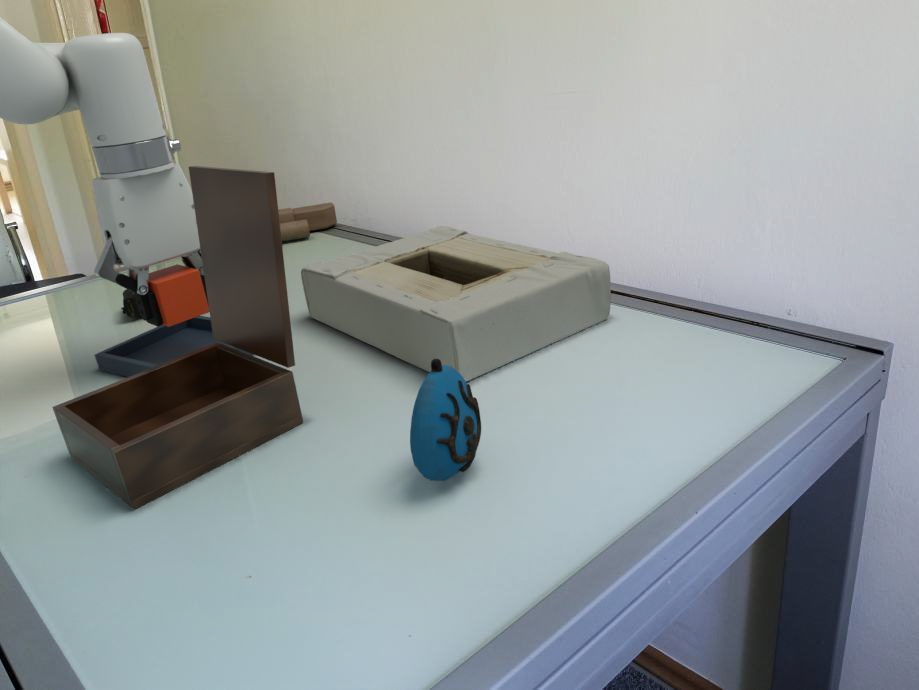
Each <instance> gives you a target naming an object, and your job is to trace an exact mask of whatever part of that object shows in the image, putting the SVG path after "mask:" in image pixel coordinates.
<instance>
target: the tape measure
mask: <svg viewBox="0 0 919 690" xmlns="http://www.w3.org/2000/svg"><path fill="white" fill-rule="evenodd" d="M122 297H123V298H122V306H123V307H120V309H121V310H122V313H123V314H124V315H126V316H128V317H129V318H135V317H138V316H141V315H140V312H139V308H138V305H137V302H136V299H135V295H134V292H132V291H130V290H128V289H126V288H125V290H123V292H122Z"/></svg>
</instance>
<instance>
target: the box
mask: <svg viewBox="0 0 919 690" xmlns="http://www.w3.org/2000/svg"><path fill="white" fill-rule="evenodd" d="M610 270H611V269H610V265H609V264H608V262H606V261H604V260H602V259H599V258H596V257H591V256H585V255H584V256H583V255H576V254H573V253H571V252H569V251H568V252H567V251H560V252H554V251H550V250H545V249H541V248H536V247H532V246H527V245H523V244H519V243H514V242H508V241H504V240H500V239H495V238H490V237H486V236H481V235H476V234H472V233H469V232H468V231H467V230H461V229H457V228H454V227H450V226H443V225H442V226H441V225H440V226H436V227H433V228H431V229H428V230H425V231H423V232H419V233H416V234H412V235H409V236H406V237H403V238H400V239H397V240H393V241H389V242H386V243H383V244H380V245H375V246H373V247H369V248H366V249H362V250H359V251H357V252H353V253H349V254H345V255H342V256H339V257H336V258H333V259H330V260H326V261H321V262H320V261H319V262H316V263H311V264H308V265H305V266H304V267H302V268H301V270H300V277H301V284H302V289H303V295H304V298H305V299H304V300H305V302H306V303H305V304H306V307H307V310H308V314H309V316H310V317H311V318H312V319H314V320H316V321H318V322H320V323H323V324H325V325H327V326H329V327H331V328H333V329H336V330H338V331H340V332H342V333H344V334H347V335H348V336H351V337H353V338H355V339H357V340H359V341H361V342H363V343H366V344H368V345H370V346H373V347H375V348H377V349H379V350H381V351H383V352H385V353H386V354H389V355H391V356H394V357H395V358H397V359H399V360H402V361H404V362H406V363H408V364H411V365H412V366H415V367H417V368H419V369H422V370H423V371H425V372H428V373H429V372H430V371H431V361H432V360H433V359H436V358H437V359H439V360H440V361H441V363H442V365H449V366H452V367H453V368H454V369H456V370H457V371H458V372H459V373H460V374H461V375H462V377H463V378H464V380H465V381H466V382H468V381H471V380H473V379H475V378H478V377H481V376H482V375H484V374H486V373H488V372H491V371H493V370H496V369H497V368H500V367H502V366H505V365H507V364H509V363H511V362H514V361H515V360H518V359H520V358H523V357H525V356H527V355H529V354H531V353H533V352H536V351H538V350H541V349H542V348H546V347H547V346H549V345H552V344H554V343H557V342H558V341H561V340H564V339H565V338H567V337H570V336H572V335H574V334H578V332H581V331H583V330H586V329H588V328H590V327H592V326H595V325H596V324H599V323H602V322H603V321H605V320H607V319H608V318H609V316H610V313H611V304H612V303H611V302H612V301H611V299H612V298H611V295H612V294H611V293H612V292H611V289H612V288H611V271H610Z"/></svg>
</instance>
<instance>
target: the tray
mask: <svg viewBox="0 0 919 690" xmlns="http://www.w3.org/2000/svg"><path fill="white" fill-rule="evenodd" d="M217 342H219V343H221V344H224V345H226V346H229V347H231V348H234V349H236V350H239V351H241V352H244V353H247V354H249V355H252V356H254V354H251V353H249V352H246V351H244V350H241V349H239V348H236V347H233V346H231V345H228V344H226V343H223V342H221V341H218V340H216V339H214V338H213V332H212V325H211V318H210V316H204V315H200V316H197V317H195V318H192V319H189V320H187V321H184V322H181V323H178V324H176V325H173V326H170V327H167V326H165V325H161V326H158V327H157V326H155V327H154V328H151V329H149V330H147V331H144V332H143V333H140V334H138V335H135V336H133V337H131V338H128V339H126V340H124V341H122V342H119V343H118V344H115V345H113V346H111V347H108V348H106V349H104V350H102V351H98V352H97V353H95V354H94V358H95V361H96V364H97V366H98V370H99V371H101V372H105V373H109V374H113V375H116V376H121V377H125V378H128V377H130V376H133V375H135V374H138V373H140V372H143V371H145V370H148V369H150V368H153V367H156V366H158V365H161V364H163V363H166V362H168V361H171V360H173V359H176V358H178V357H181V356H184V355H186V354H189V353H191V352H194V351H196V350H199V349H201V348H204V347H206V346H209V345H212V344H214V343H217Z"/></svg>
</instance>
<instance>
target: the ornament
mask: <svg viewBox="0 0 919 690" xmlns="http://www.w3.org/2000/svg"><path fill="white" fill-rule="evenodd" d="M415 397H416V398H415V399H414V400H415V401H414V404H413V409H412V413H411V414H412V415H411V421H410V429H409V446H410V453H411V457H412V461H413V465H414V467H415V468H416V470H417V471H418V472H419V473H420V475H421V476H422V477H423V478H424V479H426V480H428V481H431V482H445V481H447V480H449V479H450V478H453V477H454V476H455V475H457V474H459V473H460V472H461V473H465V472H466V471H467V470H468V469H469V468H470V467H471V465H472V464H473V462H474V460H475V457H476V455H477V454H476V453H477V450H478V447H479V444H480V441H481V437H482V419H481V411H480V406H479V402H478V400H477V397H475V396H473V392H472V387H471V385H470V384H469V383H468V382H467V381H465V380H464V378H463V377H462V375H461V374H460V373H459V372H458V371H457V370H456V369H454V368H453V367H452V366H449V365H442V363H441V361H440V360H439V359H437V358H436V359H433V360H432V361H431V371H430V372H428V373H427V374H426V376H425V378H424V379H423V380H422V383H421V385H420V387H419V389H418V391H417V394H416V396H415Z"/></svg>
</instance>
